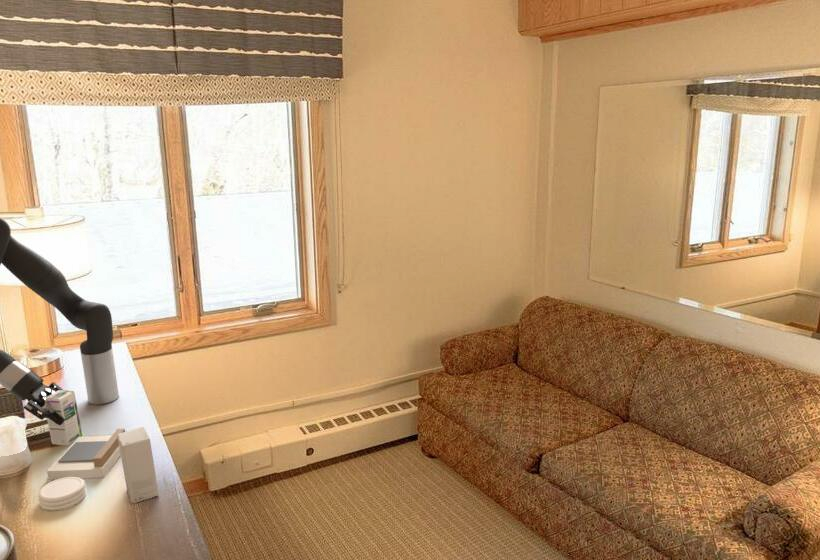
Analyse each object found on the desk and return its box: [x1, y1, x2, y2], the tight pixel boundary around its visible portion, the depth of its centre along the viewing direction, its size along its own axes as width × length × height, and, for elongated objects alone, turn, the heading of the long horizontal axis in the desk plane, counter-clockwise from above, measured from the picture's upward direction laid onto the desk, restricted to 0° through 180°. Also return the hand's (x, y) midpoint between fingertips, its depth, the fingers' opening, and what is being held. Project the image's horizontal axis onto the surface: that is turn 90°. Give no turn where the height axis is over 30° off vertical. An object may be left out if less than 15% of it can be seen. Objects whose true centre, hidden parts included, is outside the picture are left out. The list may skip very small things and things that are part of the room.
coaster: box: [38, 477, 87, 512], centre depth 154 cm, size 10×10×4 cm
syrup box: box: [46, 389, 83, 447], centre depth 181 cm, size 6×6×14 cm
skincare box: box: [117, 426, 160, 504], centre depth 155 cm, size 8×7×16 cm
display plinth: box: [46, 428, 126, 481], centre depth 172 cm, size 18×14×5 cm
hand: (68, 416), depth 181 cm, fingers closed on syrup box, 6 cm apart
